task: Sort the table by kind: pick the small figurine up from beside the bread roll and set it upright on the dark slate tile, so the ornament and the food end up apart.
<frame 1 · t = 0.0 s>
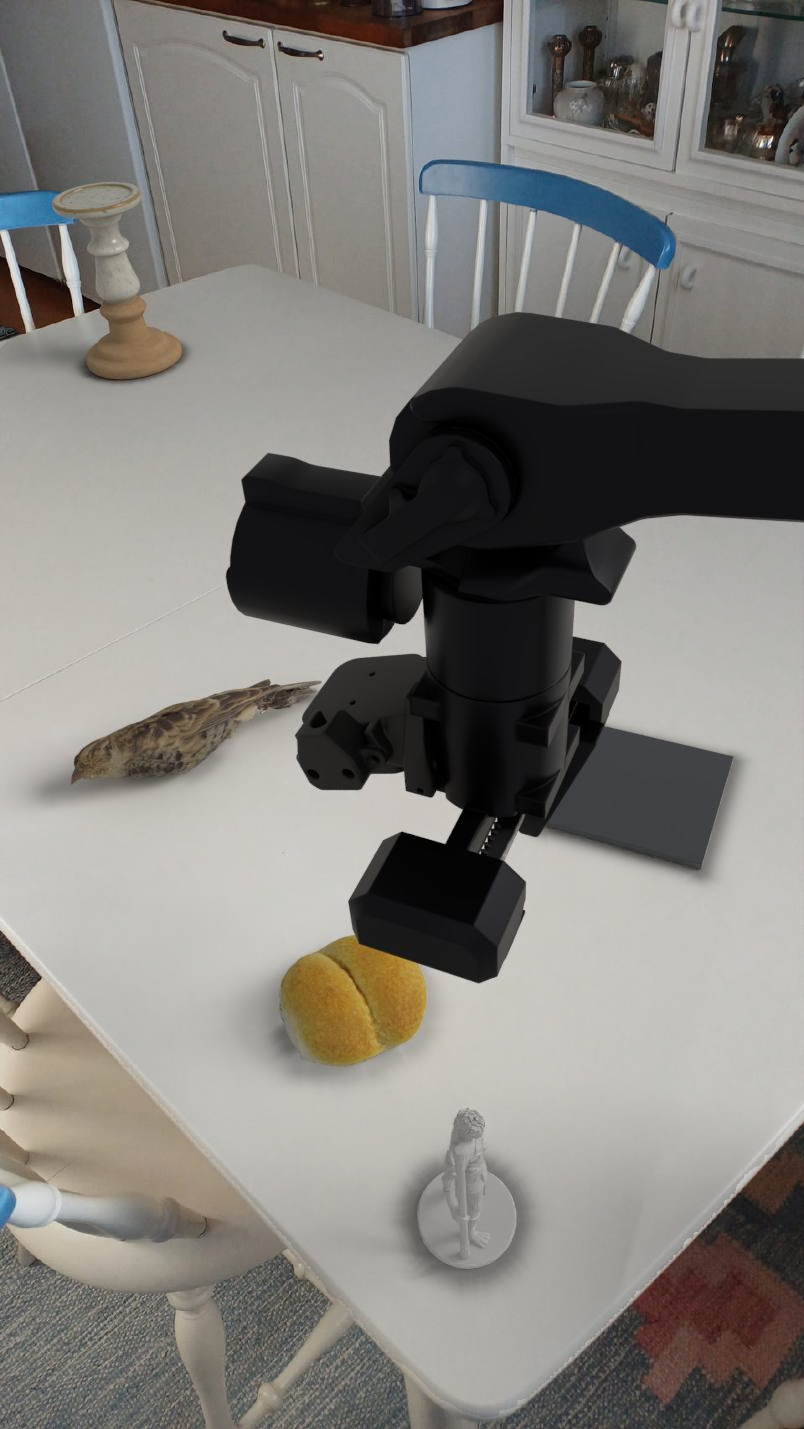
hand: (499, 899, 53), 16 cm above the table, tool pointing down, fingers open, 9 cm apart
figurine: (466, 1218, 57), on the table
bread roll: (353, 1013, 67), on the table
bird model: (205, 751, 85), on the table
candle holder: (135, 361, 140), on the table
slate tile: (641, 793, 78), on the table
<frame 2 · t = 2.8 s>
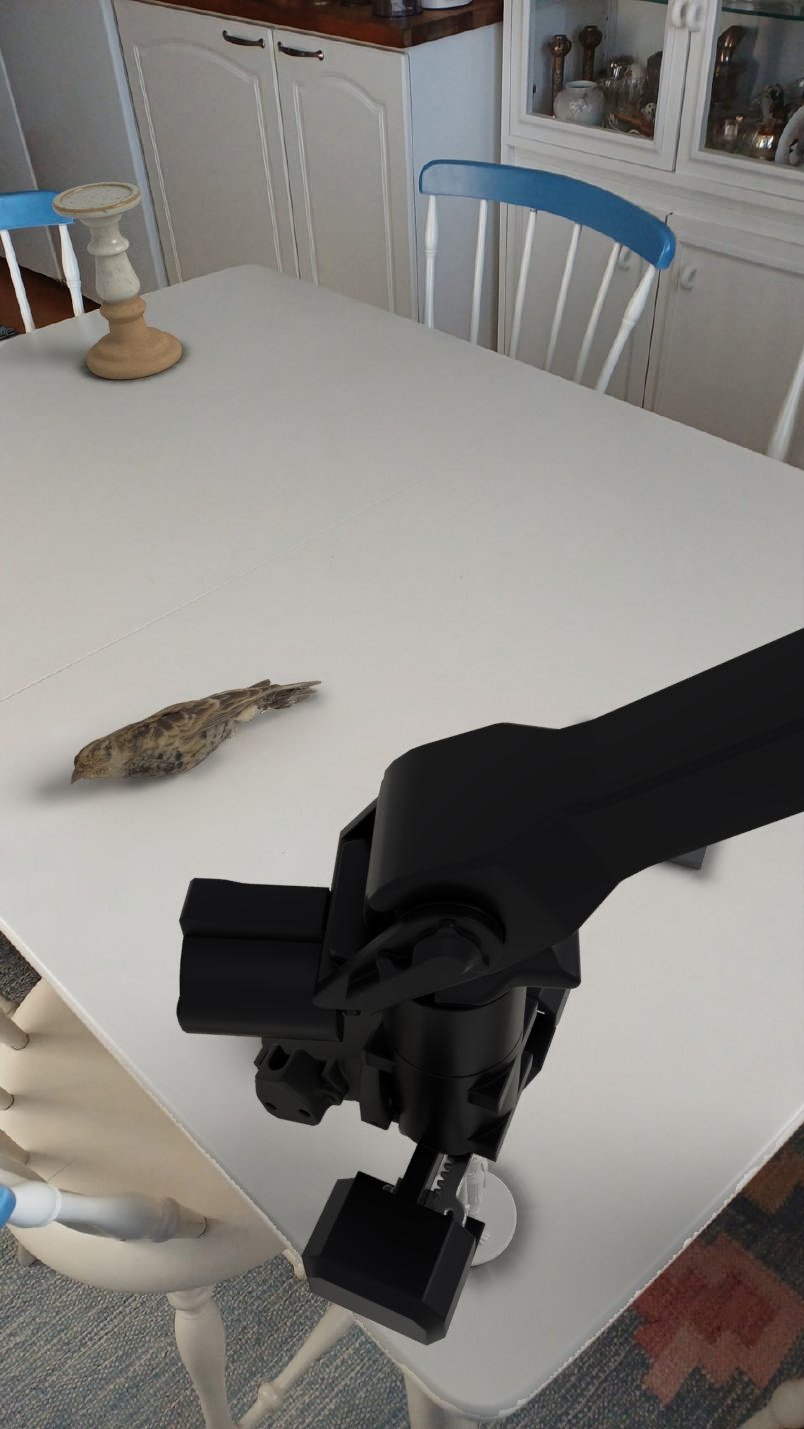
hand: (453, 1184, 54), 4 cm above the table, tool pointing down, fingers closed on figurine, 6 cm apart
figurine: (466, 1217, 57), on the table, touching gripper
everything else where it was.
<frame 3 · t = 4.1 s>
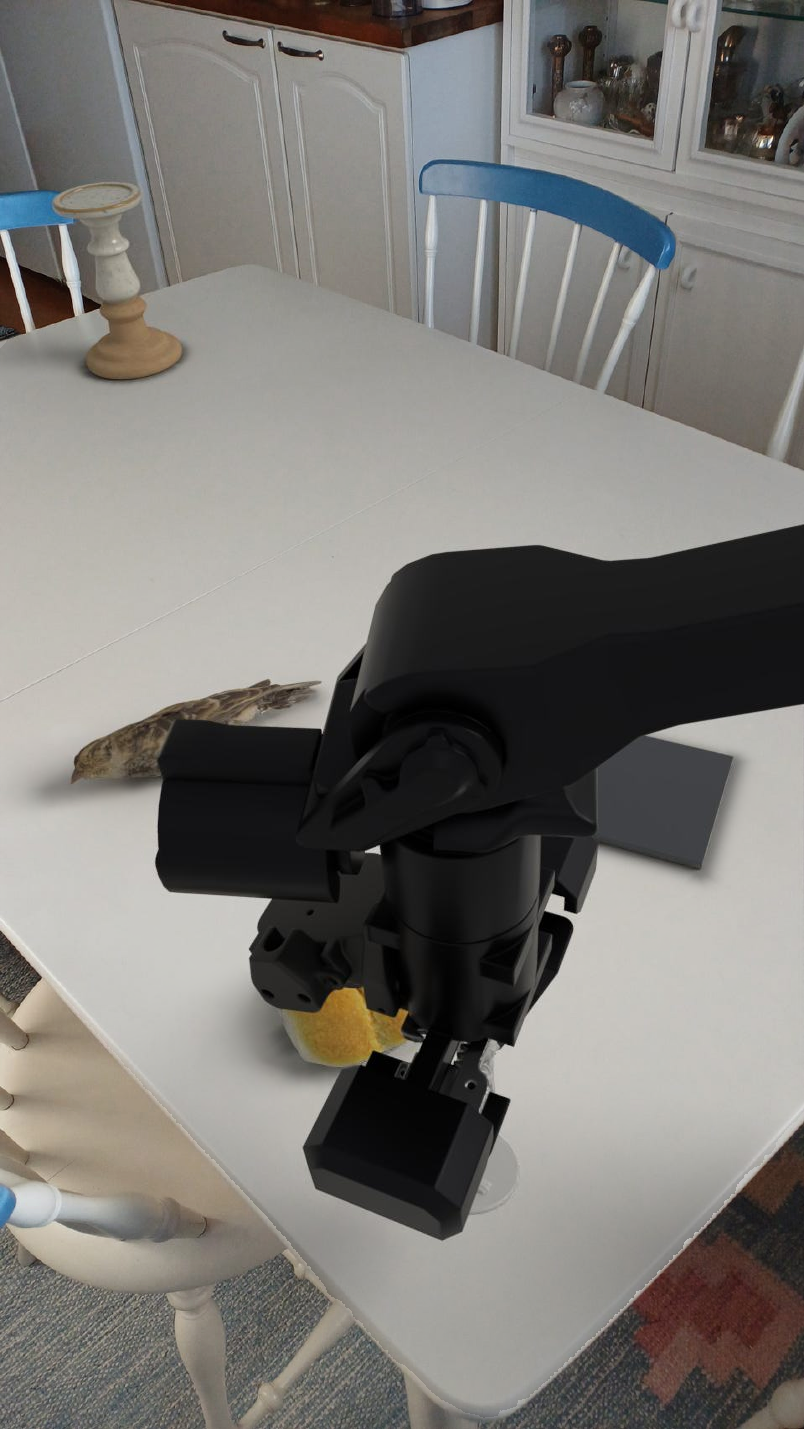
hand: (471, 1090, 50), 11 cm above the table, tool pointing down, fingers closed on figurine, 5 cm apart
figurine: (464, 1171, 52), point 7 cm above the table, touching gripper
everything else where it was.
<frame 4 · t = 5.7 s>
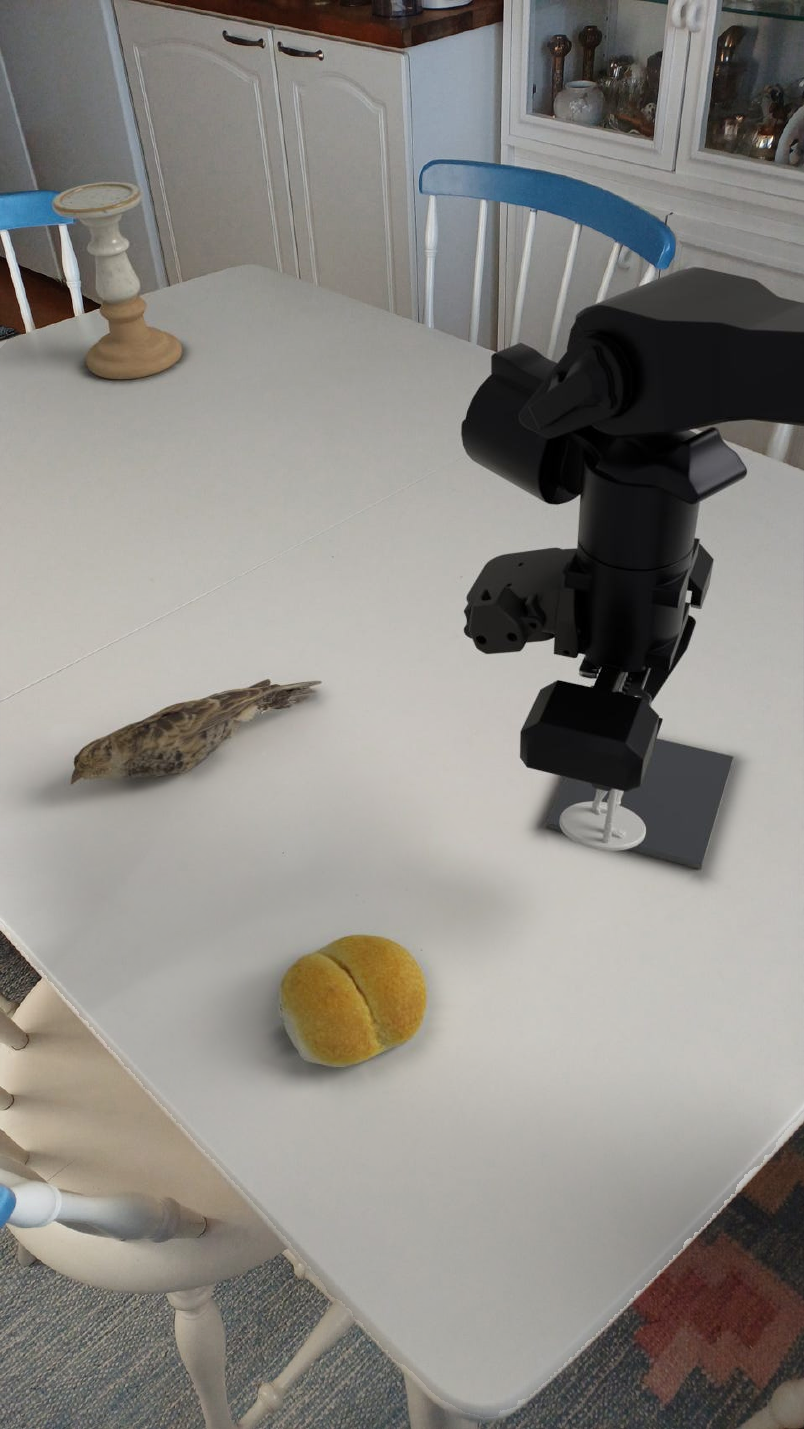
hand: (612, 757, 64), 12 cm above the table, tool pointing down, fingers closed on figurine, 5 cm apart
figurine: (601, 829, 66), point 8 cm above the table, touching gripper
everything else where it was.
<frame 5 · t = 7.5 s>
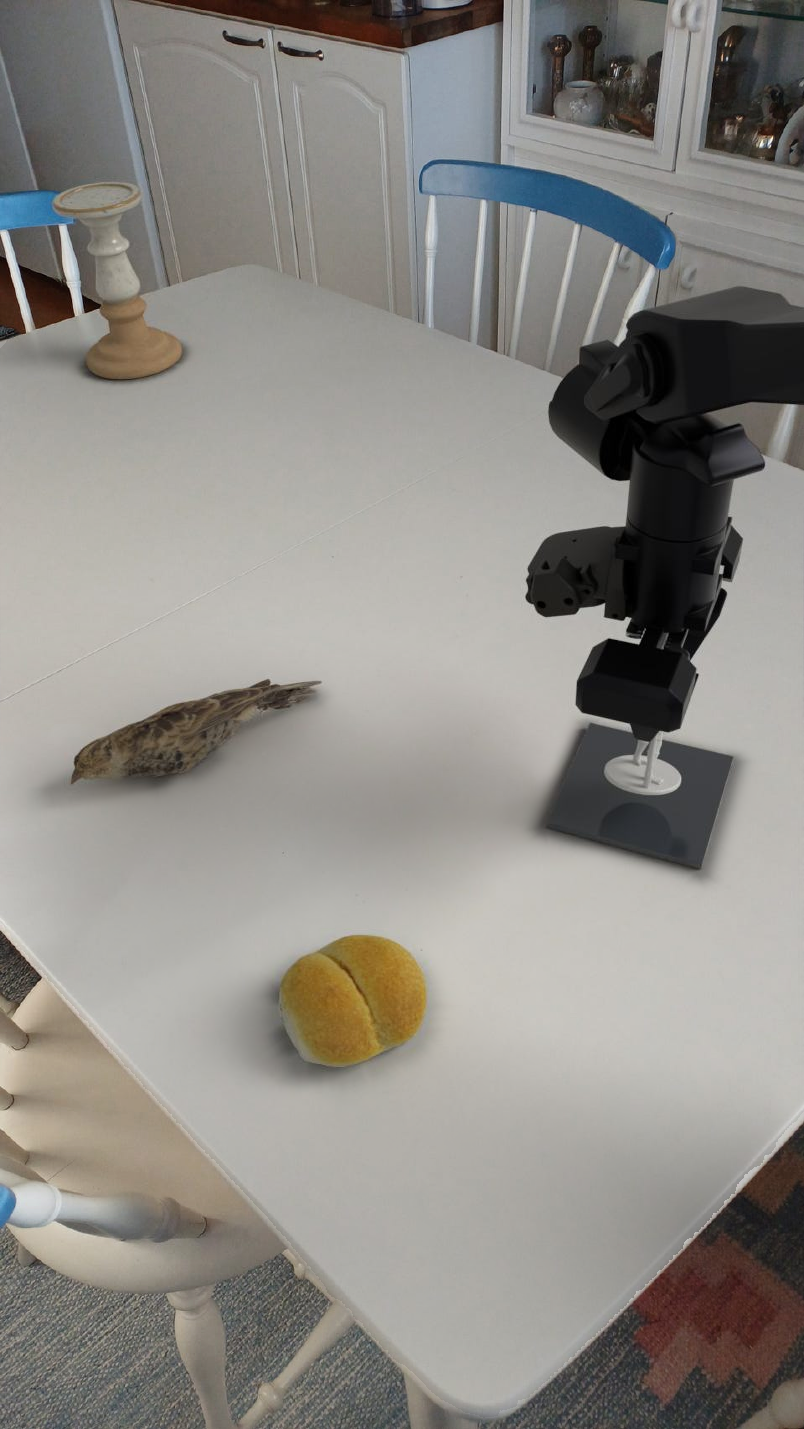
hand: (652, 714, 73), 8 cm above the table, tool pointing down, fingers closed on figurine, 5 cm apart
figurine: (641, 778, 75), point 4 cm above the table, touching gripper
everything else where it was.
when the fingers open (6 cm above the table, at t = 8.6 s): figurine stays where it is, resting on slate tile.
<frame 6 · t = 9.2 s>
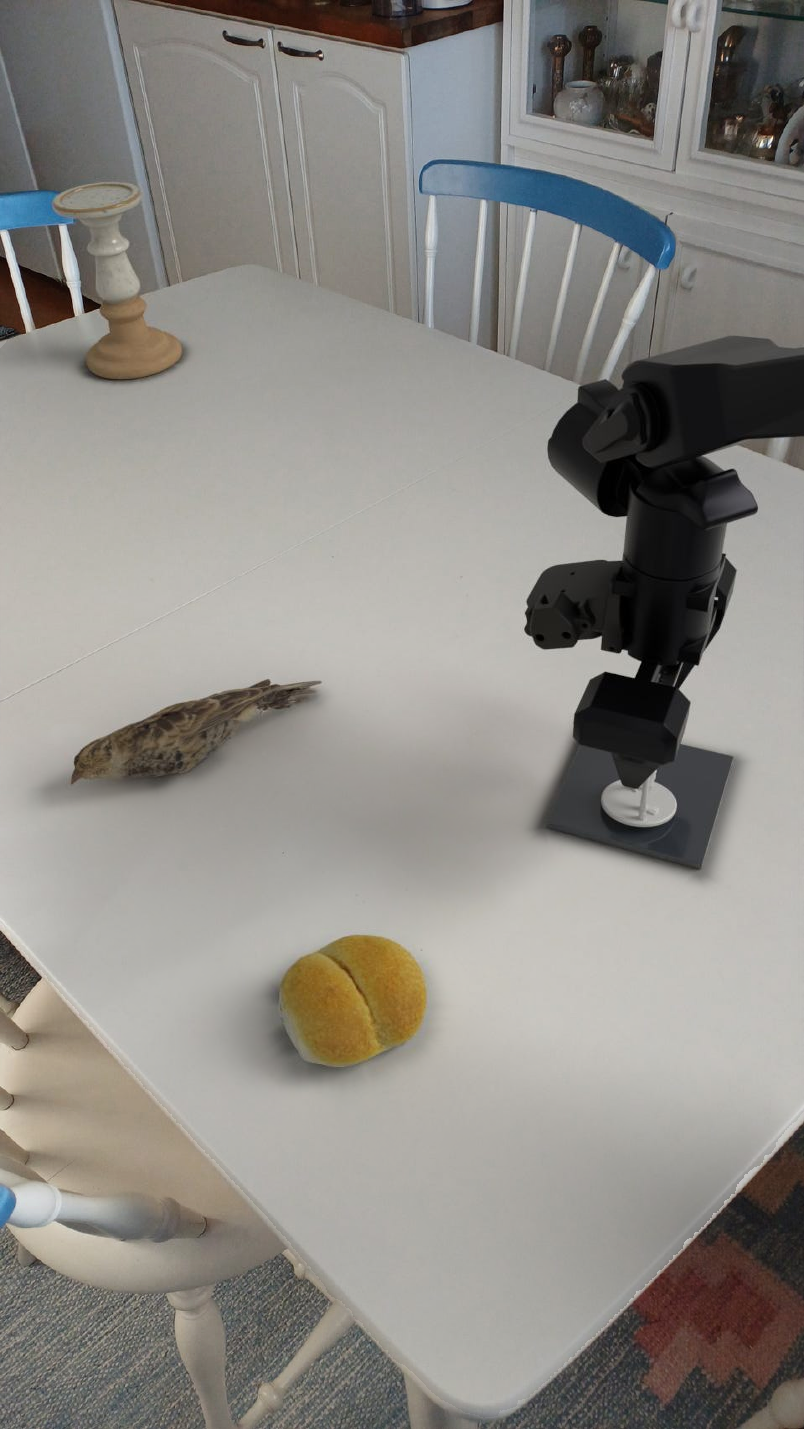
hand: (647, 740, 75), 5 cm above the table, tool pointing down, fingers open, 9 cm apart
figurine: (638, 805, 77), point 1 cm above the table, touching gripper, slate tile
everything else where it was.
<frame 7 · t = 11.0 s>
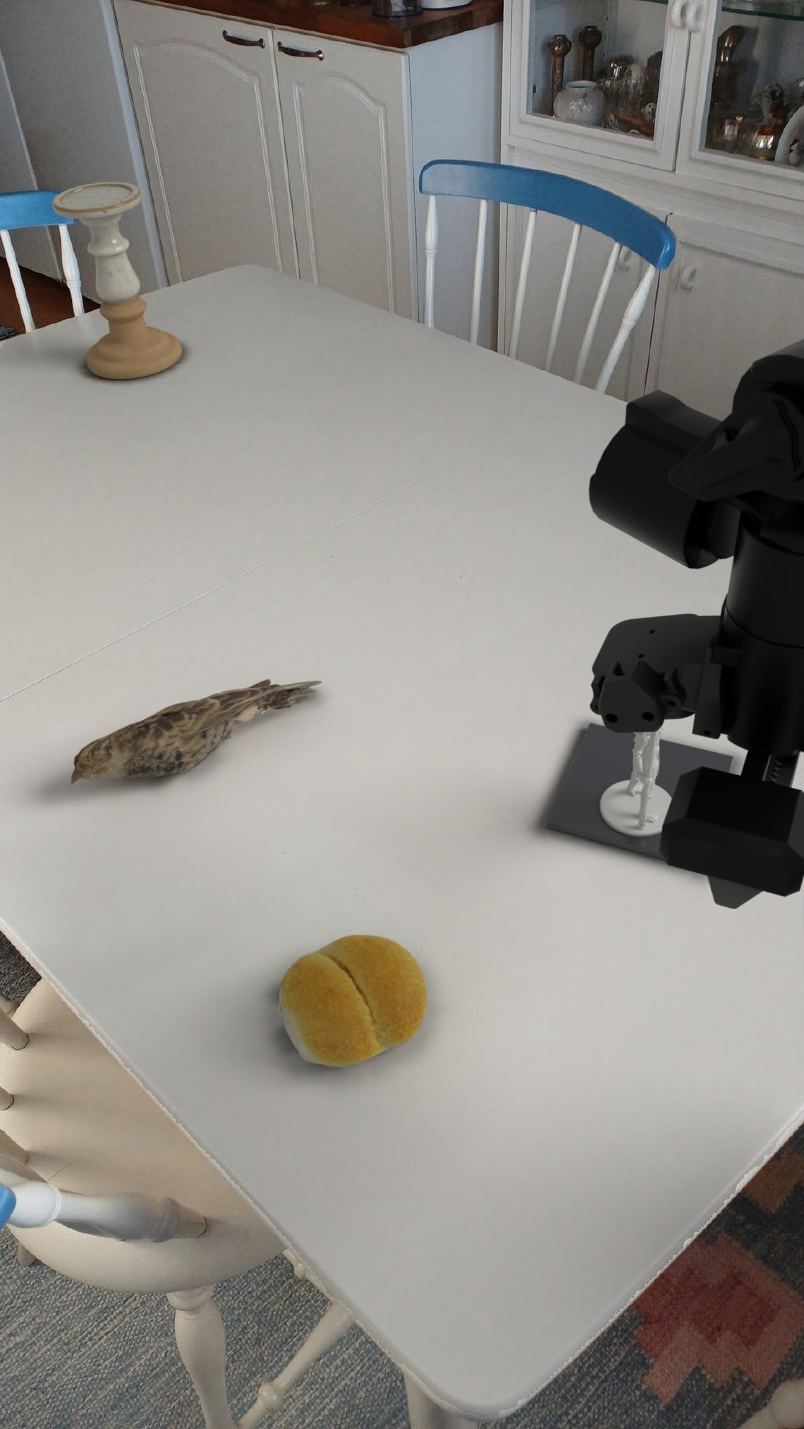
hand: (743, 841, 58), 13 cm above the table, tool pointing down, fingers open, 9 cm apart
figurine: (636, 810, 77), resting on slate tile
everything else where it was.
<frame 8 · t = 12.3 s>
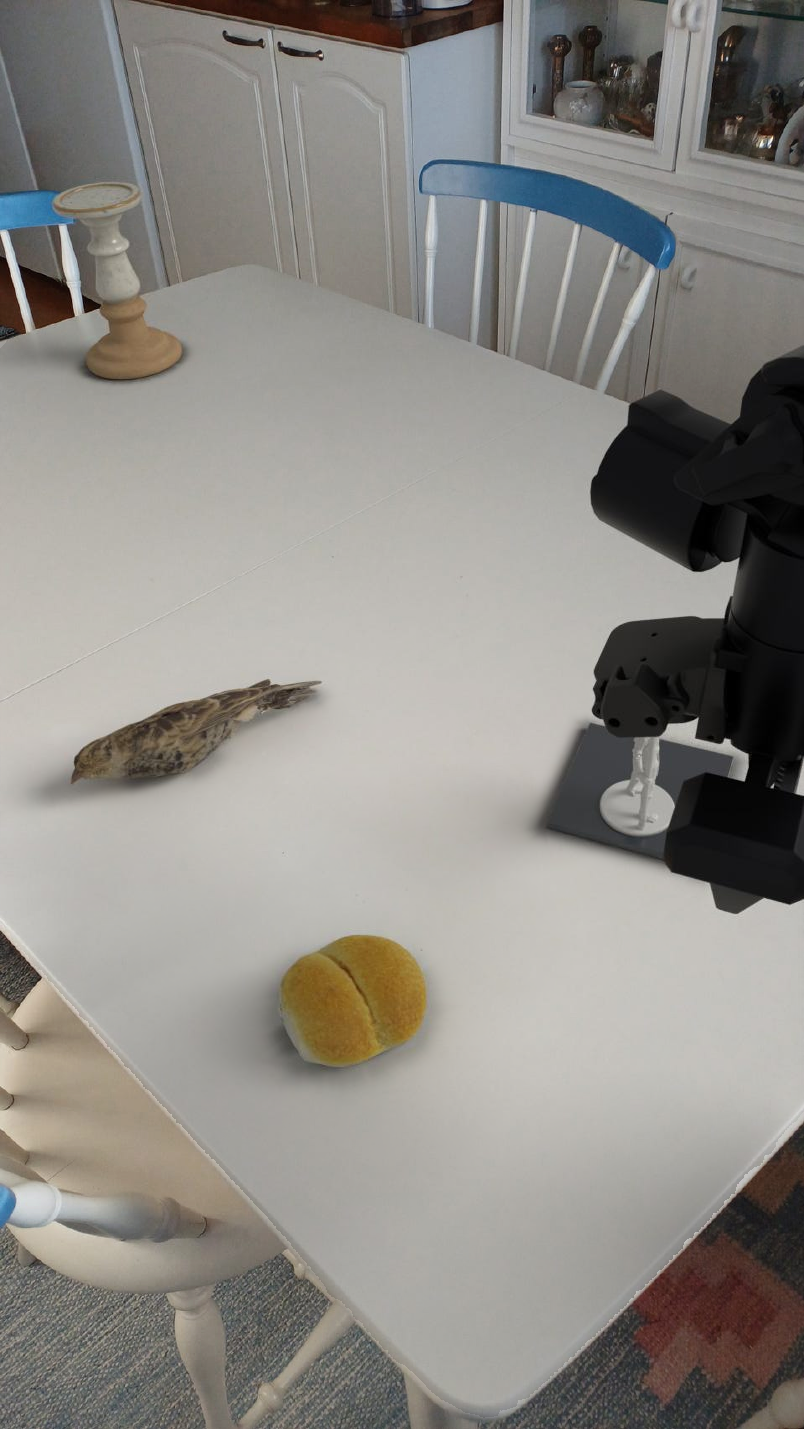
hand: (744, 844, 58), 13 cm above the table, tool pointing down, fingers open, 9 cm apart
nothing on the table moved.
at the end: figurine inside the target area on the slate tile (2.1 cm from its centre), point 0.4 cm above the slate tile's base; figurine tilted 0°; bread roll moved 0.2 cm from its start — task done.
